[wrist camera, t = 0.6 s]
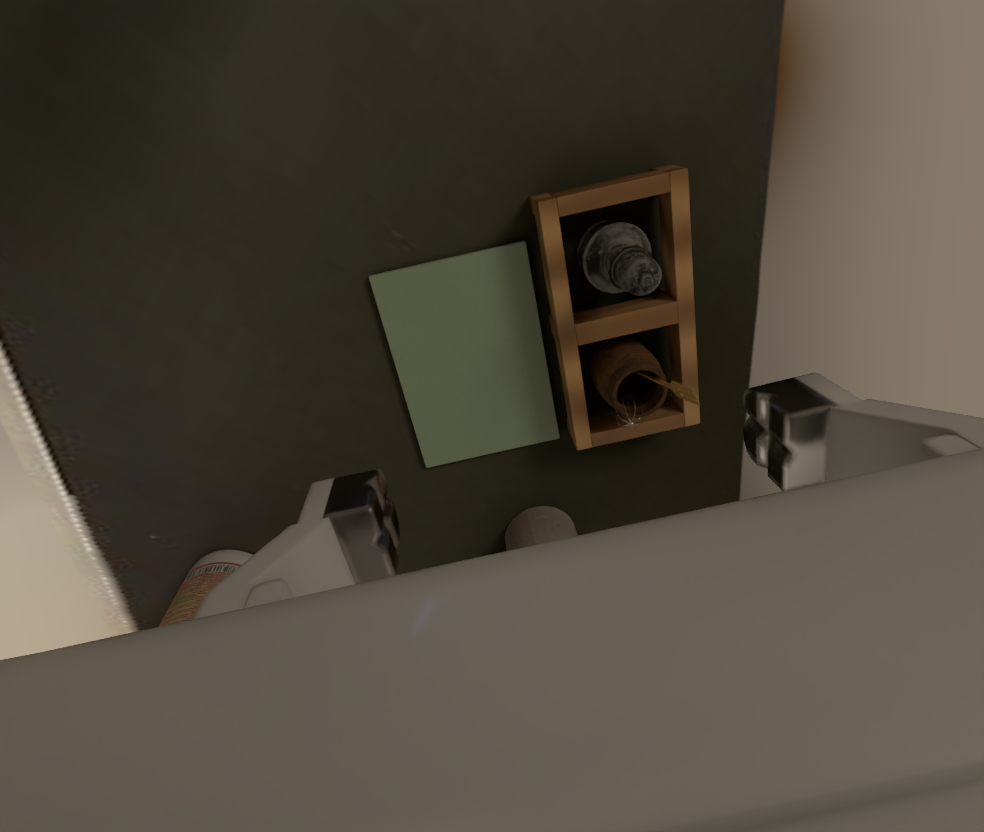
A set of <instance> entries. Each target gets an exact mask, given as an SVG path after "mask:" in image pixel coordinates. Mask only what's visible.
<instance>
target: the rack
mask: <svg viewBox="0 0 984 832" xmlns="http://www.w3.org/2000/svg"><path fill="white" fill-rule="evenodd" d="M655 195H658V197H659V211H660V226H661V240H662V254H663V268H664V282H665V288H661V289H660V294H657V295H653V296H648V297H644V298H639V299H635V300H631V301H626V302H622V303H617V304H613V305H608V306H604V307H600V308H595V309H591V310H586V311H582V312H577V313H573V311H572V304H571V297H570V290H569V283H568V276H567V269H566V263H565V256H564V249H563V242H562V235H561V228H560V222H559V217H563V216H567V215H571V214H576V213H580V212H585V211H589V210H593V209H598V208H602V207H607V206H611V205H615V204H620V203H624V202H628V201H633V200H637V199H642V198H646V197H650V196H655ZM529 198H530V204H531V210H532V214H533V215H534V216H535V220H536V226H537V232H538V238H539V245H540V251H541V257H542V263H543V269H544V275H545V281H546V287H547V293H548V300H549V306H550V312H551V313H549V319H550V325H551V331H552V334H553V336H554V338H555V342H556V348H557V354H558V361H559V367H560V373H561V379H562V385H563V391H564V397H565V403H566V409H567V416H568V417H566V421H567V427H568V431H569V433H570V435H571V437H572V440H573V442H574V444H575V446H576V449H577V450H582V449H587V448H591V447H596V446H600V445H605V444H609V443H614V442H618V441H623V440H627V439H632V438H636V437H641V436H645V435H650V434H654V433H659V432H663V431H668V430H672V429H677V428H681V427H684V426H690V425H694V424H699V423H700V413H699V406H698V405H696V404H694V403H691V402H689V401H687V400H684V399H682V398H679V397H677V396H676V395H675V393H674V392H673V391H672V393H670V394H667V396H668V401H667V402H663V404H662V405H661V406H660V408H658V409H657V410H656V411H655V412H653V413H652V414H650V415H648V416H645V417H643V423H642V417H641V418H640V419H639V418H634V420H633V418H630V417H629V418H628V417H627V416H624V415H623V416H622V414H621V413H619V412H618V415H619V416H618V415H617V413H616V415H615V413H614V414H609V415H605V416H600V417H596V418H591V419H588V413H587V407H586V400H585V393H584V386H583V379H582V372H581V365H580V359H579V352H578V346H579V345H583V344H588V343H592V342H597V341H601V340H606V339H610V338H614V337H619V336H623V335H628V334H632V333H637V332H641V331H645V330H650V329H654V328H659V327H663V326H668V339H669V353H670V368H671V382H672V381H675V382H677V383H679V384H681V385H683V386H686V387H688V388H690V389H692V390H694V392H695V393H694V394H693V395H695V396H696V397H697V398H698V399H697V400H696V401H698V402H699V392H698V371H697V350H696V329H695V308H694V287H693V266H692V245H691V225H690V204H689V183H688V168H685V167H679V166H673V165H663V166H658V167H654V168H651V171H648V172H643V173H639V174H635V175H630V176H626V177H622V178H617V179H613V180H608V181H604V182H600V183H595V184H591V185H586V186H582V187H578V188H573V189H569V190H565V191H560V192H556V193H551V194H548V193H547V192H545V193H540V194H536V195H531V196H529ZM689 393H690V392H689ZM691 394H692V393H691ZM692 399H693V398H692ZM694 400H695V399H694ZM616 418H617V420H616ZM622 419H623V420H624V423H623V420H622ZM629 419H630V420H629ZM638 419H639V420H638ZM637 420H638V421H637ZM617 421H618V423H619V424H620V425H619V424H618V423H617ZM625 421H626V422H625ZM630 421H631V422H630ZM632 421H633V422H632ZM636 421H637V422H636ZM627 422H629V423H627ZM634 422H635V424H640V425H634ZM630 423H633V424H632V425H633V426H634V428H635V426H636V429H634V428H633V426H632V425H631V427H630V425H629V424H630ZM641 423H642V424H641ZM621 425H627V426H625V427H624V426H621ZM629 427H630V428H629ZM625 428H626V429H628V428H629V429H628V430H626V429H625Z"/></svg>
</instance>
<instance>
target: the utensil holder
mask: <svg viewBox="0 0 984 832" xmlns="http://www.w3.org/2000/svg"><path fill="white" fill-rule="evenodd" d="M590 374H591V378H592V380H593V382H594V384H595V386H596V388H597V389H598V391H599V393H600V394H601V396H602V397H603V398H604V400H605V401H606V402H607V403H608V404H609V405H611V406H612V407H614V408H615V409H616V411H615V415H616V412H617V411H618V412H619V413H621V414H622V416H623V415H624V416H627V417H628V418H629V417H630V418H633V420H634V418H639V419H640V418H641V417H642V423H643V417H645V416H648V415H650V414H652V413H653V412H655V411H656V410H657V409H658V408H660V406H661V405H662V404H663V402H664V401H665V399H666V396H667V392H668V388H669V389H671V390H672V391H673V392H674V393H675V395H676V396H677V397H679V398H682V399H684V400H687V401H689V402H691V403H694V404H696V405H698V406H699V405H700V403H699V402H698V401H696V400H697V399H698V398H697V397H696V396H695V395H693V394H694V393H695V392H694V390H692V389H690V388H688V387H686V386H683V385H681V384H679V383H677V382H675V381H672V382H670V384H669V383H667V380H666V377H665V375H664V373H663V372H662V369H661V366H660V364H659V362H658V361H657V360H656V358H655V357H654V356H653V355H652V354H651V353H650V352H649V351H648V350H647V349H646V348H645V347H644V346H643V345H642V344H641V343H639V342H638V341H636V340H634V339H631V338H627V337H618V338H613V339H610V340H608V341H606V342H605V343H603V344H602V345H601V346H600V347H599V348H598V349H597V350H596V351H595V353H594V354H593V357H592V359H591V363H590ZM689 392H690V393H689ZM691 393H692V394H691ZM692 398H693V399H692ZM694 399H695V400H694ZM617 415H618V413H617ZM618 416H619V415H618ZM639 419H638V420H639ZM616 420H617V418H616ZM622 420H623V419H622ZM629 420H630V419H629ZM638 420H637V421H638ZM637 421H636V422H637ZM625 422H626V421H625ZM630 422H631V421H630ZM632 422H633V421H632ZM617 423H618V421H617ZM623 423H624V420H623ZM627 423H629V422H627ZM642 423H641V424H642ZM618 424H619V423H618ZM632 424H633V423H630V424H629V425H630V427H631V425H632ZM619 425H620V424H619ZM634 425H640V424H635V422H634ZM621 426H624V427H625V426H627V425H621ZM632 426H633V425H632ZM630 427H629V428H630ZM629 428H628V429H629ZM633 428H634V426H633ZM625 429H626V428H625ZM628 429H626V430H628ZM634 429H636V426H635V428H634Z"/></svg>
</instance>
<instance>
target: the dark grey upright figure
mask: <svg viewBox="0 0 984 832" xmlns="http://www.w3.org/2000/svg"><path fill="white" fill-rule="evenodd" d="M577 258H578V262H579V265H580V267H581V268H582V270H583V271H584V273H585V275H586V277H587V279H588V281H589V282H590V283H591V284H592V285H593V286H594V287H595V288H597V289H599V290H601V291H603V292H607V293H621V292H624V291H628V292H630V293H631V294H633V295H638V296H643V295H647V294H650V293H651V292H653V291H654V290H655V289H656V288H657V287H658V285H659V283H660V281H661V277H662V272H661V268H660V266H659V264H658V263H657V262H656V261H655V260H654V259H653V257H652V250H651V245H650V242H649V240H648V238H647V236H646V234H645V233H644V232H643V231H642V230H641V229H640V228H638V227H636V226H635V225H633V224H629V223H625V222H618V221H614V220H603V221H600V222H598V223H595V224H594V225H592V226H591V227H589V228H588V229H587V230H586V232H585V233H584V234H583V236H582V237H581V239H580V241H579V245H578V248H577Z"/></svg>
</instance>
